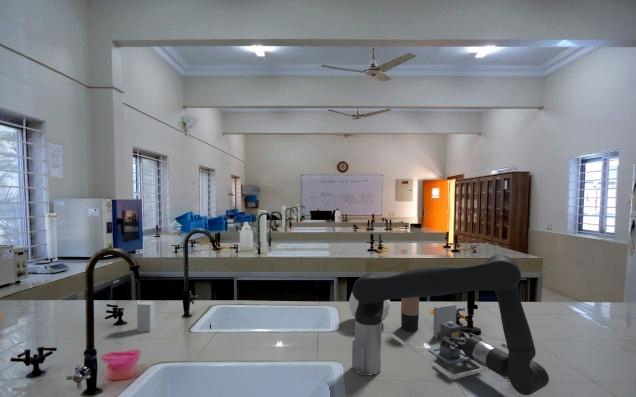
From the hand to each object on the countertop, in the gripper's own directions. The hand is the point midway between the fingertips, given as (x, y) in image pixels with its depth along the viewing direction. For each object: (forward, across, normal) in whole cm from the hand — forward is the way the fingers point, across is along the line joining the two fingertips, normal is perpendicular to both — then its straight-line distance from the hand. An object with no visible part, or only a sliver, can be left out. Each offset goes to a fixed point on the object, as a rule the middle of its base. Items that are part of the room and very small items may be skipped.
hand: (447, 333), depth 129 cm
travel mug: (+24, -1, +9) cm, 25 cm away
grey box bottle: (-2, 0, +8) cm, 8 cm away
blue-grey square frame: (-2, 0, +9) cm, 9 cm away
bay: (+8, -11, +9) cm, 16 cm away
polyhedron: (+39, +11, +9) cm, 41 cm away
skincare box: (+66, +108, +9) cm, 127 cm away
